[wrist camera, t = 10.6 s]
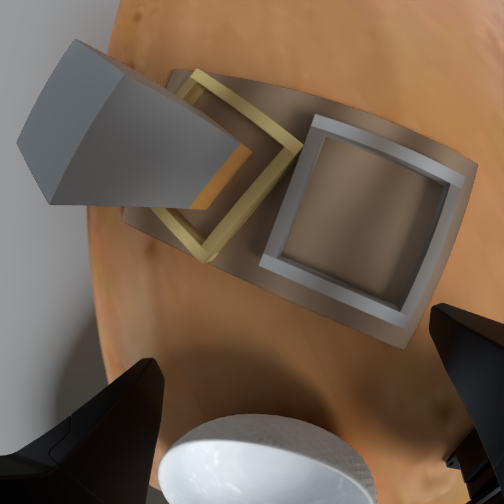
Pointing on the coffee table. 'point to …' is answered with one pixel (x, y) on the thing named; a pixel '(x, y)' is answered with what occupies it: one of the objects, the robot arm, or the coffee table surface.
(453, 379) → the robot arm
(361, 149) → the station board
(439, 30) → the coffee table surface
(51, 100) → the grey square pillar
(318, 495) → the cereal bowl
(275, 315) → the coffee table surface
